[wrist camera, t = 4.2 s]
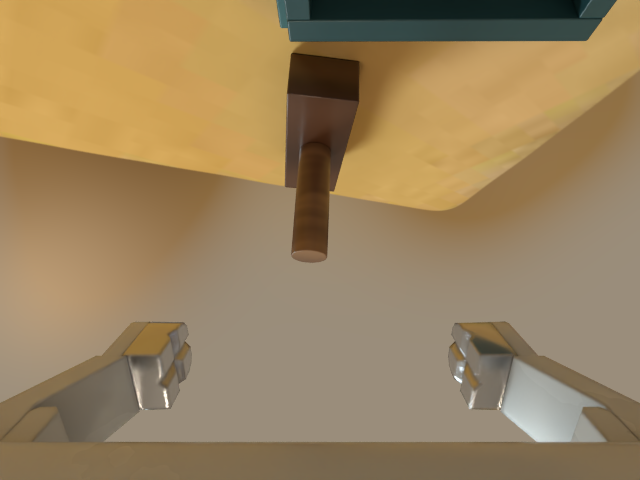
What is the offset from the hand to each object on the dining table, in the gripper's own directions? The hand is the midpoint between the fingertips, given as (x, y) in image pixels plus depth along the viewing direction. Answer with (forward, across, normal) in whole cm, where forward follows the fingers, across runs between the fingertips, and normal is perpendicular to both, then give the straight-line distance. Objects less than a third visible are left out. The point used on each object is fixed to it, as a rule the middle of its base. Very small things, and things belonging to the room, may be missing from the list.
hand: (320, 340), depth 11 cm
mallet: (+20, 0, +6) cm, 21 cm away
